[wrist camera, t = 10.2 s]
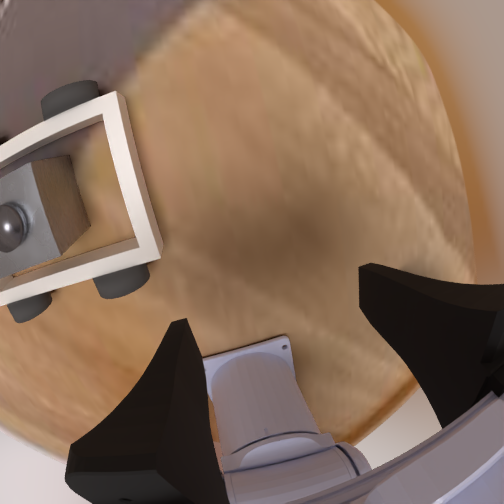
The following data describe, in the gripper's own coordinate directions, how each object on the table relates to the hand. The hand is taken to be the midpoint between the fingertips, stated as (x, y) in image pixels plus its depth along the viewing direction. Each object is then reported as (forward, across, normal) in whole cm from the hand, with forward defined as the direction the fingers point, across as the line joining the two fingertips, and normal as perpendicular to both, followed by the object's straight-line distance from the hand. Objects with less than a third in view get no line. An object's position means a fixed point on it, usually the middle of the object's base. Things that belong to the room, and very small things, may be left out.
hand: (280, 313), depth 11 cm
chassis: (+9, +12, -6) cm, 16 cm away
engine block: (+10, +12, -6) cm, 16 cm away
